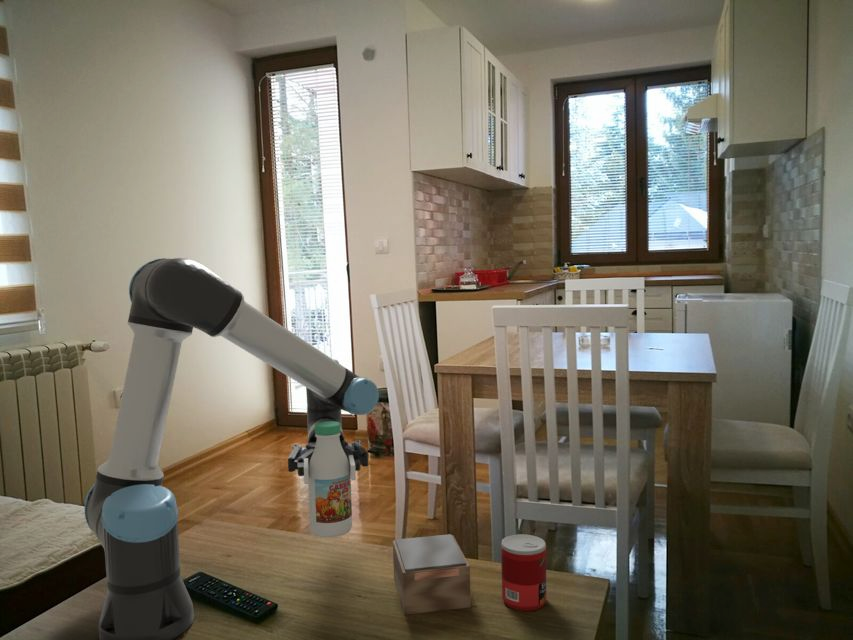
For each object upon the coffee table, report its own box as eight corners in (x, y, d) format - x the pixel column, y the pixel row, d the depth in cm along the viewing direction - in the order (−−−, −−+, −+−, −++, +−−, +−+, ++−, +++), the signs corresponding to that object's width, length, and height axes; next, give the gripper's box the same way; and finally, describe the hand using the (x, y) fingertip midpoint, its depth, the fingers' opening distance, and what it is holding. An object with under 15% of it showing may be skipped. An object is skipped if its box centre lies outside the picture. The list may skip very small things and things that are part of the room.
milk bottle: (302, 535, 121) (297, 427, 119) (322, 520, 128) (319, 417, 127) (340, 541, 118) (336, 430, 117) (359, 524, 126) (356, 419, 124)
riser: (404, 615, 117) (403, 571, 117) (393, 578, 131) (392, 538, 131) (470, 607, 120) (470, 564, 119) (453, 571, 134) (452, 532, 133)
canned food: (549, 611, 118) (549, 551, 117) (504, 612, 118) (503, 551, 117) (543, 590, 125) (542, 533, 124) (500, 590, 125) (499, 534, 124)
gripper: (375, 455, 142) (388, 490, 120) (277, 462, 138) (271, 500, 116) (374, 420, 141) (387, 449, 119) (275, 426, 138) (269, 457, 115)
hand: (330, 474), depth 118 cm, fingers closed on milk bottle, 7 cm apart
